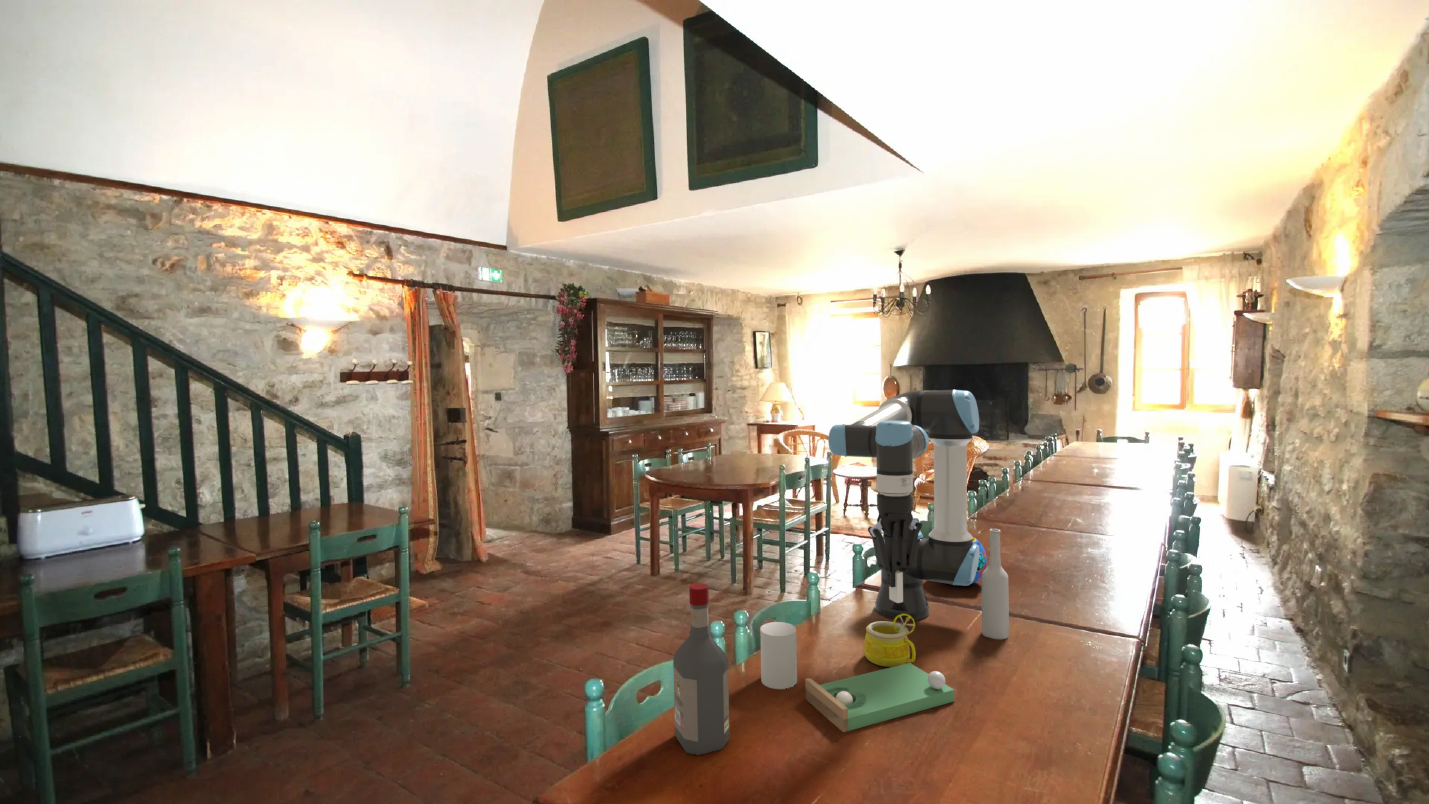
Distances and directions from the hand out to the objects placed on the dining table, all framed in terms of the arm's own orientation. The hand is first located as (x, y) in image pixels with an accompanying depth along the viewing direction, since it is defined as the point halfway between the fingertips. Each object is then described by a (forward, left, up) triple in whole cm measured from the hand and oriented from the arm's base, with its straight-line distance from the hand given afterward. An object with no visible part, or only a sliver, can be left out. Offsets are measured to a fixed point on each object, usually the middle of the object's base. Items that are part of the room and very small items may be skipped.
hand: (896, 600), depth 138 cm
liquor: (-1, -45, -21) cm, 50 cm away
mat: (+1, -5, -20) cm, 21 cm away
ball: (+1, -14, -19) cm, 23 cm away
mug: (-13, +9, -21) cm, 26 cm away
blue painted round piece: (-50, +66, -21) cm, 85 cm away
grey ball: (+6, +6, -16) cm, 18 cm away
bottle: (-14, +44, -21) cm, 50 cm away
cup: (-16, -20, -21) cm, 33 cm away
